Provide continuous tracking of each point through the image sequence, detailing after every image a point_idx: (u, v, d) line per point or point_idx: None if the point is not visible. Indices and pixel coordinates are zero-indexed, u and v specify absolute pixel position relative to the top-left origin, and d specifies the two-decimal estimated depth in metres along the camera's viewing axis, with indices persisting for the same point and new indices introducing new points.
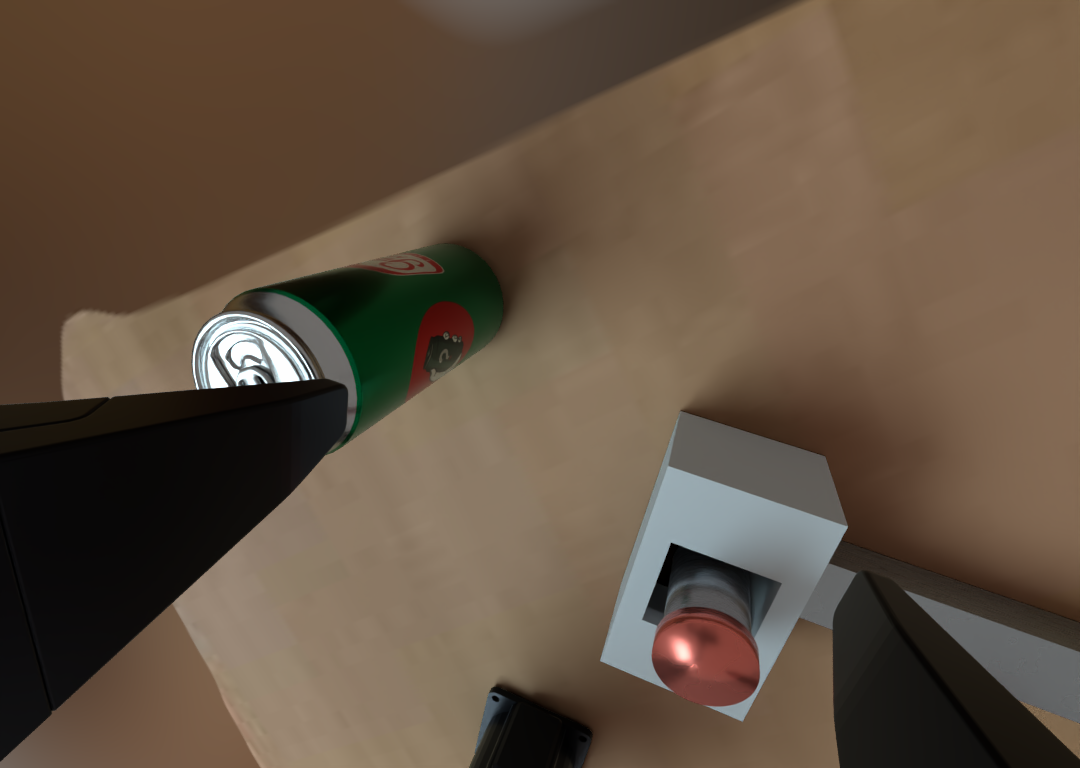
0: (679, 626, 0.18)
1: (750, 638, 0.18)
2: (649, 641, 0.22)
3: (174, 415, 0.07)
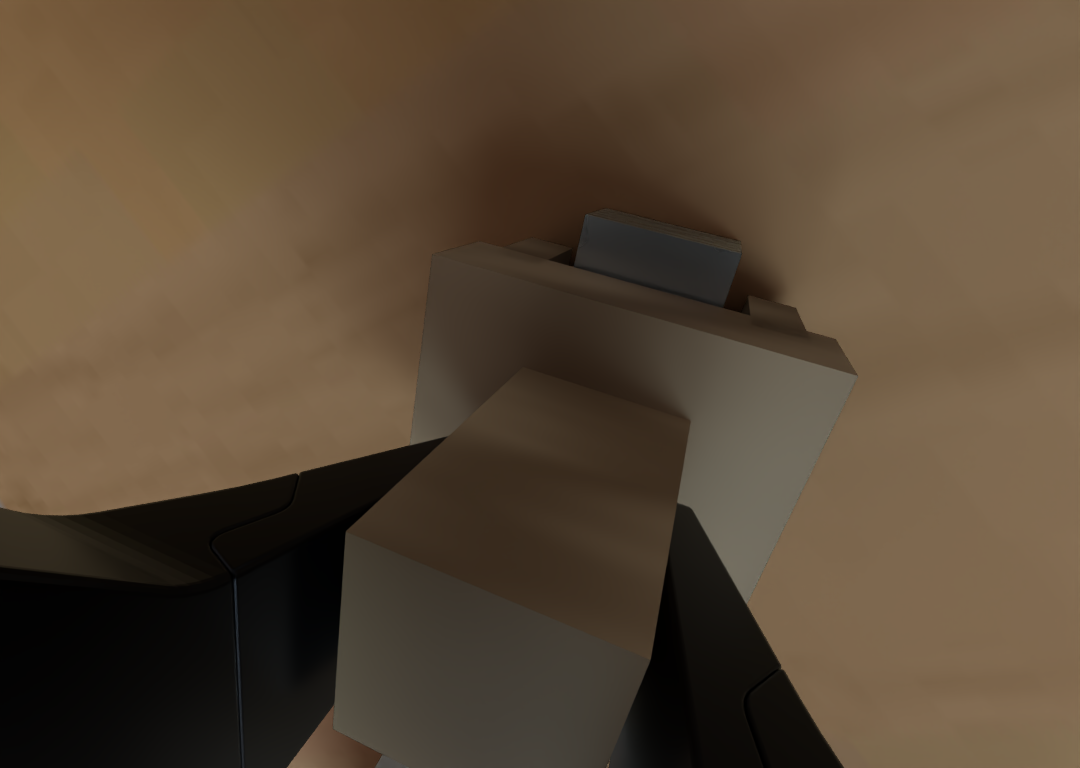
0: None
1: None
2: None
3: (369, 493, 0.06)
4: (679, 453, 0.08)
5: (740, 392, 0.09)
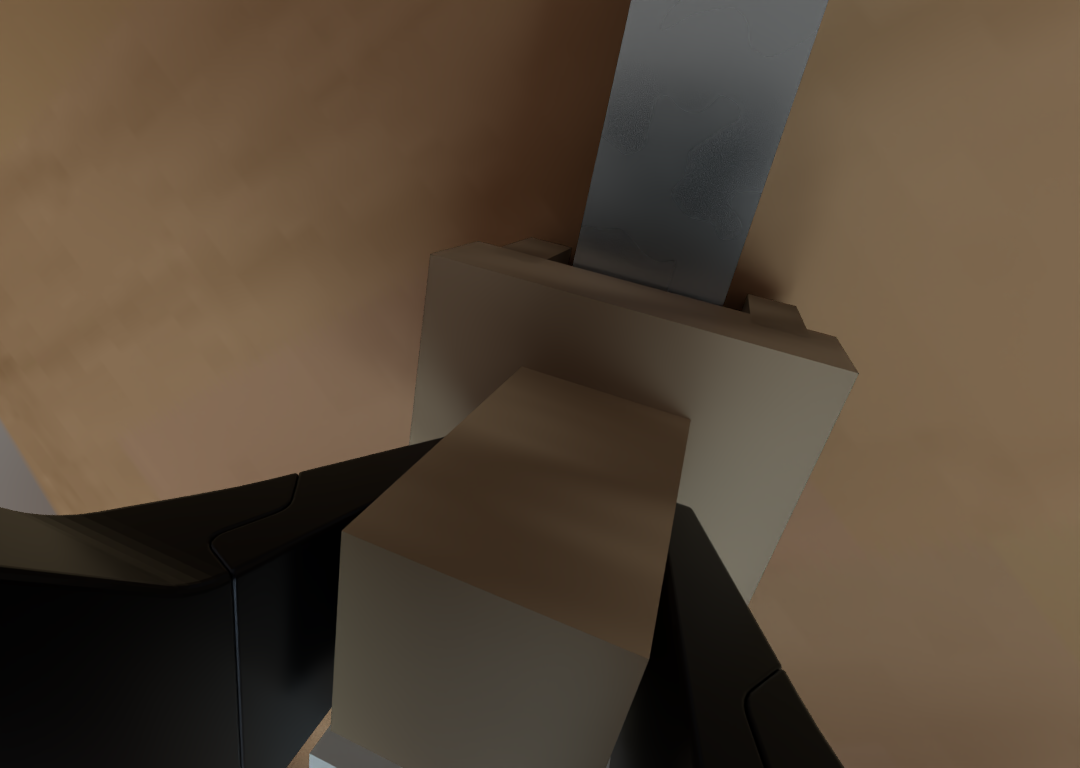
0: None
1: None
2: None
3: (369, 493, 0.06)
4: (680, 452, 0.08)
5: (740, 391, 0.09)
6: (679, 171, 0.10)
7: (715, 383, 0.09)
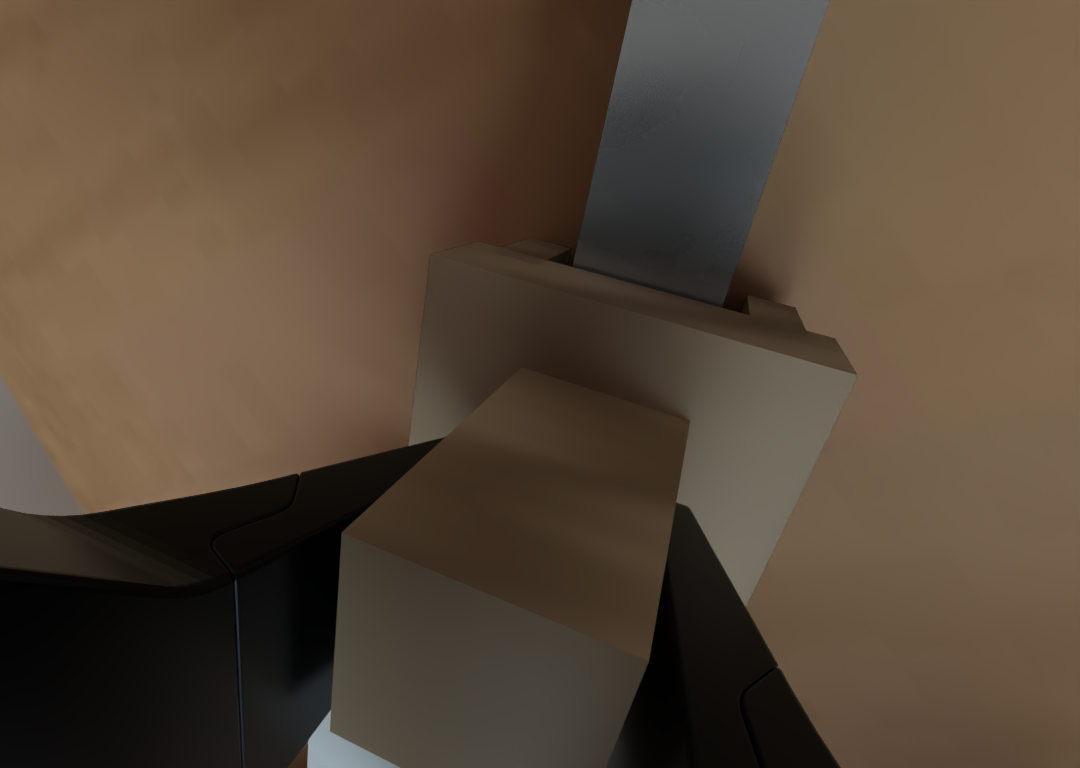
0: None
1: None
2: None
3: (370, 493, 0.06)
4: (679, 453, 0.08)
5: (740, 392, 0.09)
6: None
7: (714, 384, 0.09)
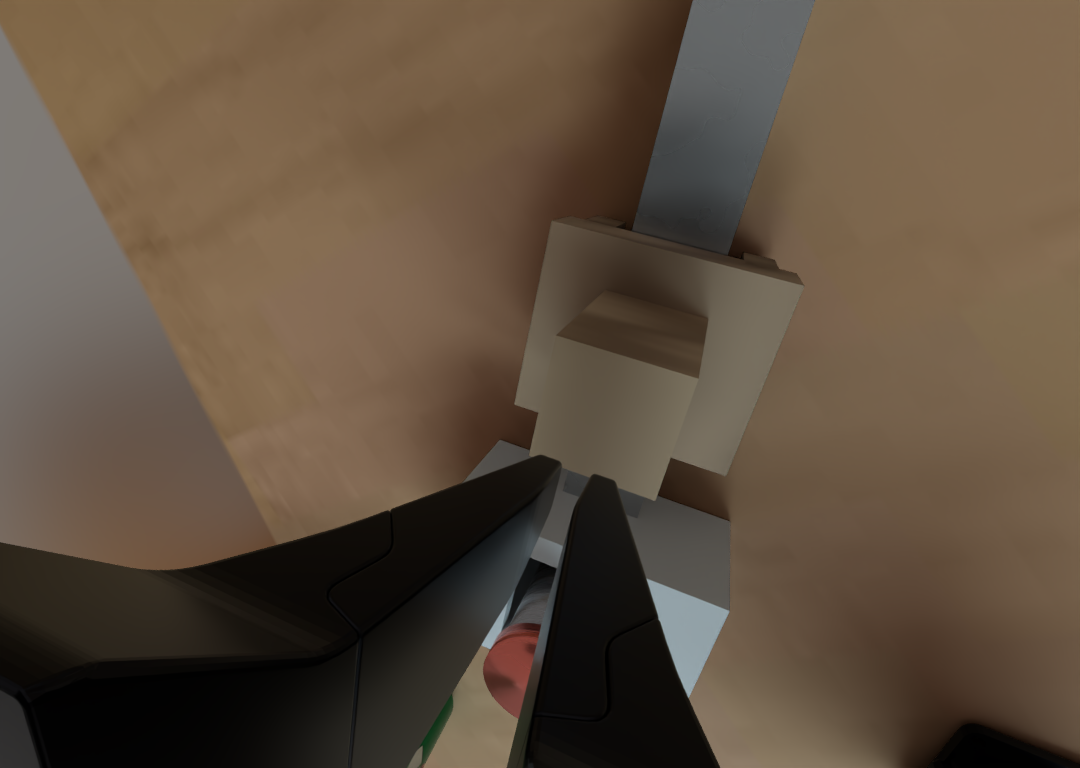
0: (492, 695, 0.18)
1: (507, 632, 0.17)
2: None
3: (464, 531, 0.06)
4: (703, 329, 0.14)
5: (738, 299, 0.15)
6: (747, 21, 0.14)
7: (723, 295, 0.15)
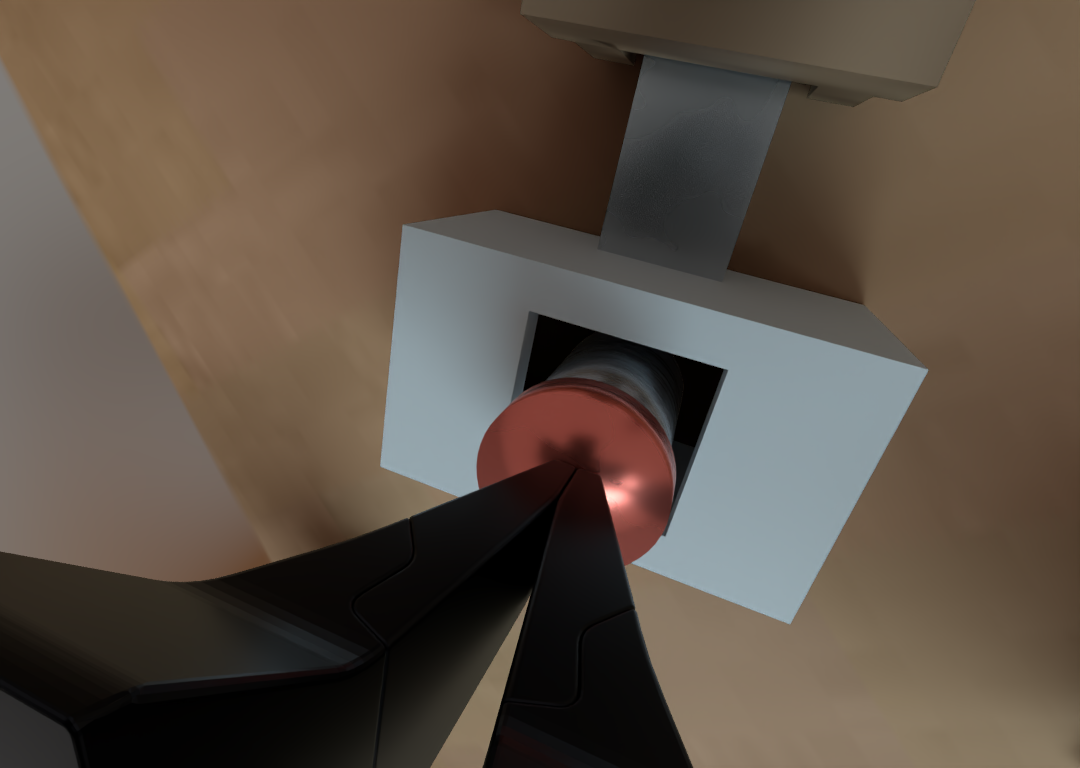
0: None
1: (519, 396, 0.10)
2: (715, 531, 0.11)
3: (485, 539, 0.06)
4: None
5: None
6: None
7: None
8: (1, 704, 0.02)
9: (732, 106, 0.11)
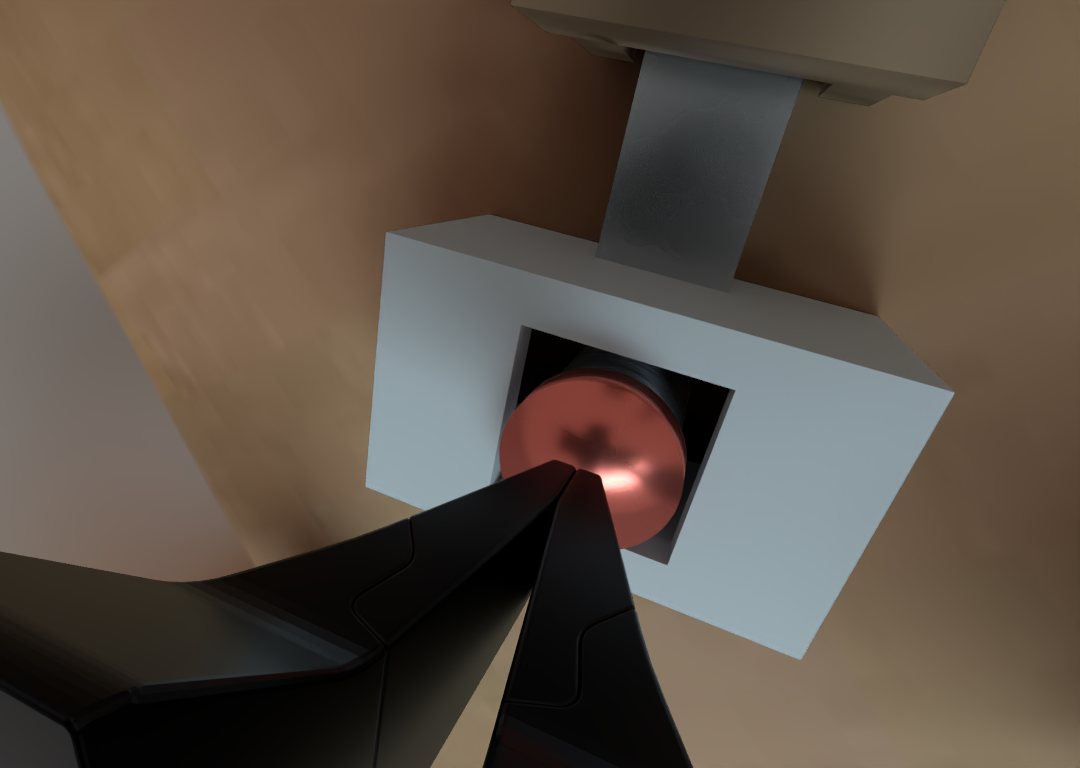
0: None
1: (539, 386, 0.10)
2: (721, 561, 0.11)
3: (485, 539, 0.06)
4: None
5: None
6: None
7: None
8: (1, 703, 0.02)
9: (739, 105, 0.11)
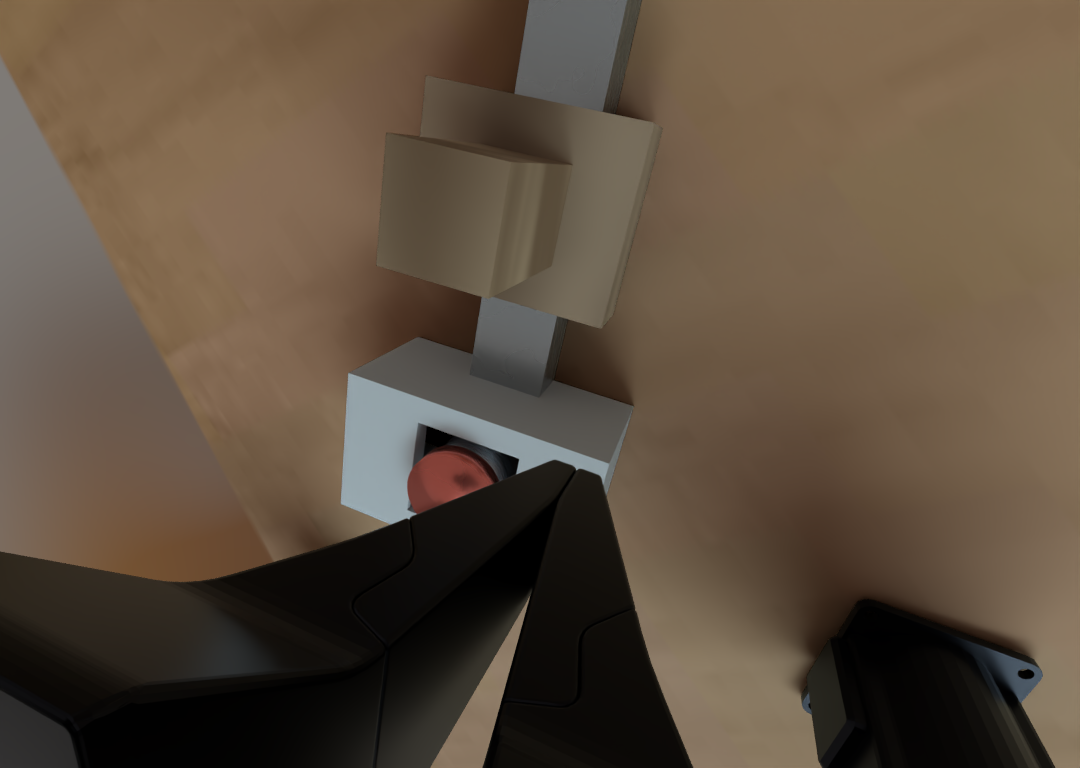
0: None
1: (427, 454, 0.20)
2: None
3: (484, 539, 0.06)
4: (558, 163, 0.15)
5: (597, 142, 0.15)
6: None
7: (584, 139, 0.16)
8: (0, 704, 0.02)
9: None
